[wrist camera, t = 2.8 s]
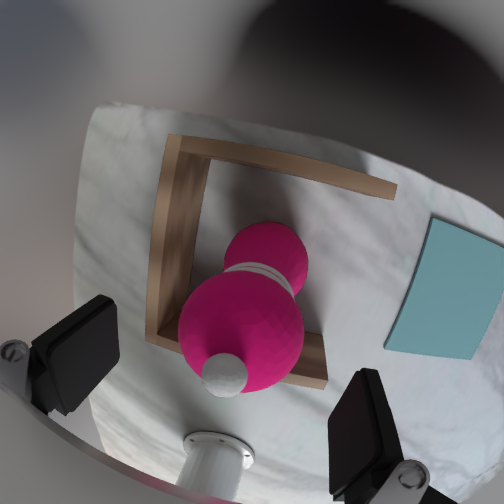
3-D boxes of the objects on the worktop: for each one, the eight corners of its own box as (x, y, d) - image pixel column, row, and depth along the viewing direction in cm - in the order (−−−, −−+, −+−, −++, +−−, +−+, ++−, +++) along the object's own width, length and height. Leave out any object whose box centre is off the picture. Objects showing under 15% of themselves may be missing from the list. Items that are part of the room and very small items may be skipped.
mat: (469, 358, 27) (470, 359, 26) (383, 346, 28) (384, 349, 28) (513, 253, 23) (515, 254, 22) (431, 217, 24) (433, 217, 24)
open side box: (319, 343, 30) (323, 389, 22) (176, 306, 31) (145, 340, 24) (369, 183, 25) (397, 184, 17) (202, 145, 26) (168, 133, 19)
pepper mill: (222, 244, 28) (100, 352, 9) (277, 202, 27) (229, 250, 7) (264, 297, 29) (215, 458, 10) (320, 259, 27) (358, 407, 8)
